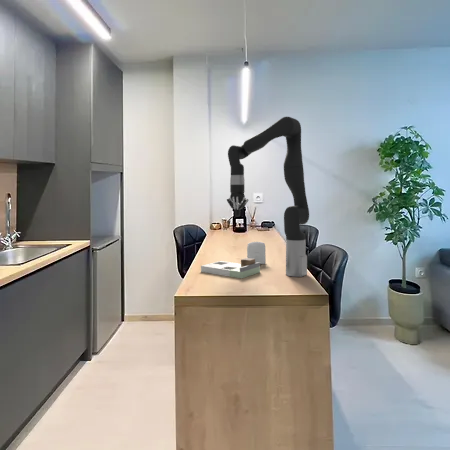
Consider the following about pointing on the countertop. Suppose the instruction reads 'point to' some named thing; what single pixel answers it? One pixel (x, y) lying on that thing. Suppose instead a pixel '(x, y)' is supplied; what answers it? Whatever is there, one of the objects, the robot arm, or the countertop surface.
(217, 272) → the box
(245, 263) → the walnut block
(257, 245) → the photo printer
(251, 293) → the countertop surface
